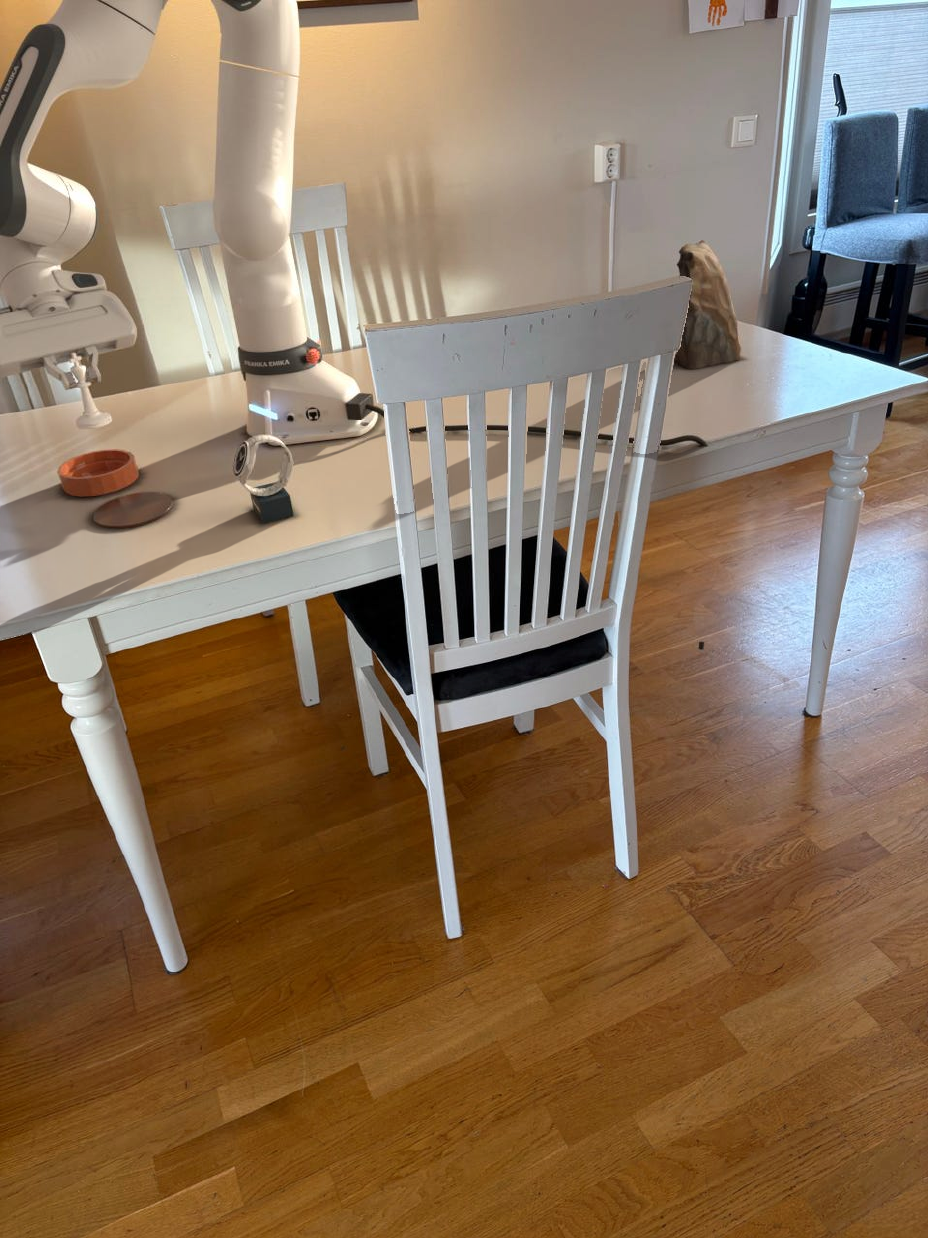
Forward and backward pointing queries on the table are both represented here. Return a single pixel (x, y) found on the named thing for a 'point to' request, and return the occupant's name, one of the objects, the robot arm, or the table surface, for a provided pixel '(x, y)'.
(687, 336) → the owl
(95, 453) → the dish
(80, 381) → the chess piece
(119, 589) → the table surface
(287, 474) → the watch
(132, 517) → the coaster
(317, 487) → the table surface
